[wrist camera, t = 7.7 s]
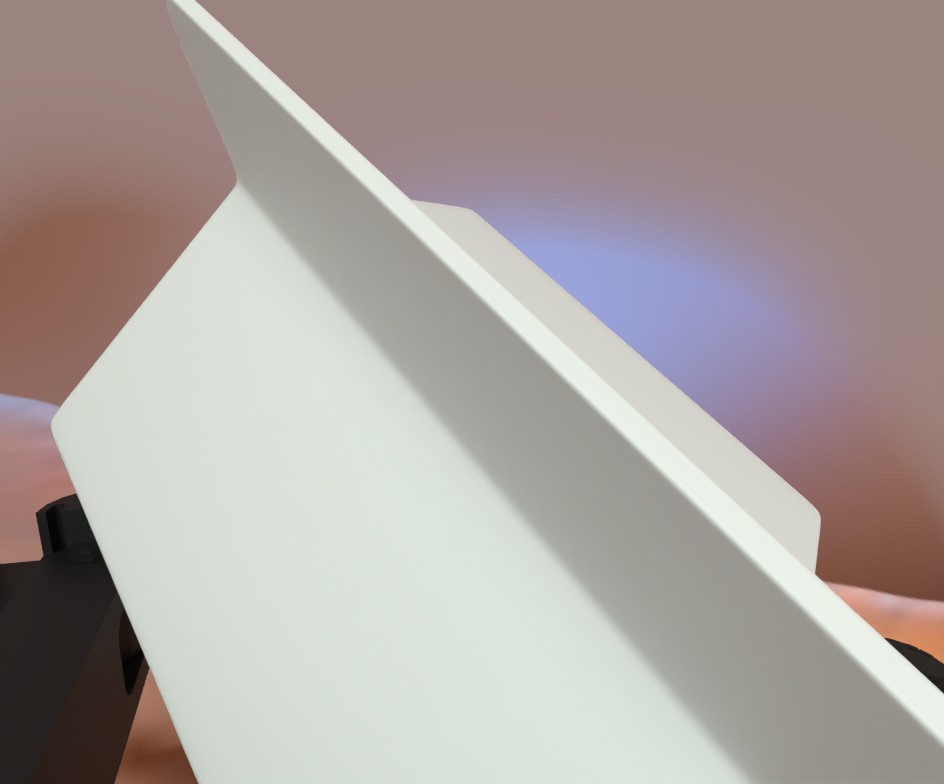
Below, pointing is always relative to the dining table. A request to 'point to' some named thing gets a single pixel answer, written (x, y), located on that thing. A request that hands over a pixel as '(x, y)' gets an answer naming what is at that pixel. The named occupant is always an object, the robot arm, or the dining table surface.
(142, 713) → the dining table surface
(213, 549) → the milk
